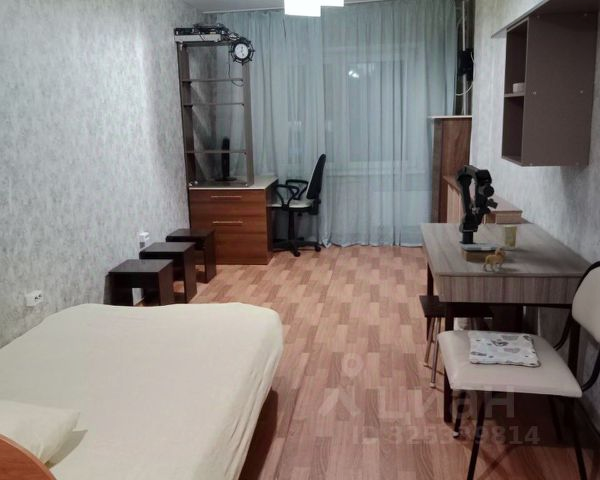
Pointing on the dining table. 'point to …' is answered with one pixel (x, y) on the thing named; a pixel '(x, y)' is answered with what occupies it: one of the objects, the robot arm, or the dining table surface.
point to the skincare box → (508, 236)
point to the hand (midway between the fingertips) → (479, 225)
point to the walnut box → (477, 254)
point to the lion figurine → (495, 259)
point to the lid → (482, 247)
